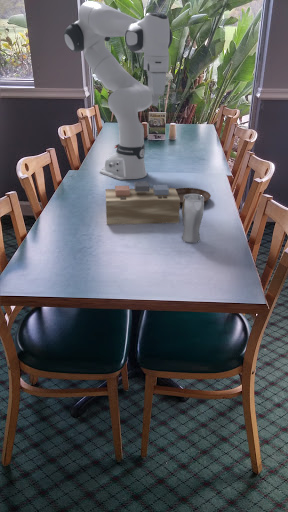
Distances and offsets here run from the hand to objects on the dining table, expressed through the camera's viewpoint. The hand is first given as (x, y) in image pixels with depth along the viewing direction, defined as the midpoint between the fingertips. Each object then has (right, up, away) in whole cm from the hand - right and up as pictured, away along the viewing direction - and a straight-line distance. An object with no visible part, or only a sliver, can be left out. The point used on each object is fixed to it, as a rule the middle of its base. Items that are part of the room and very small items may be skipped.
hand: (155, 105), depth 167 cm
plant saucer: (+14, -33, +18) cm, 40 cm away
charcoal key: (-5, -31, -2) cm, 32 cm away
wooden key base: (-5, -41, +2) cm, 41 cm away
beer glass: (+12, -50, -14) cm, 53 cm away
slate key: (+2, -32, -1) cm, 32 cm away
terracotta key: (-12, -33, -2) cm, 35 cm away
